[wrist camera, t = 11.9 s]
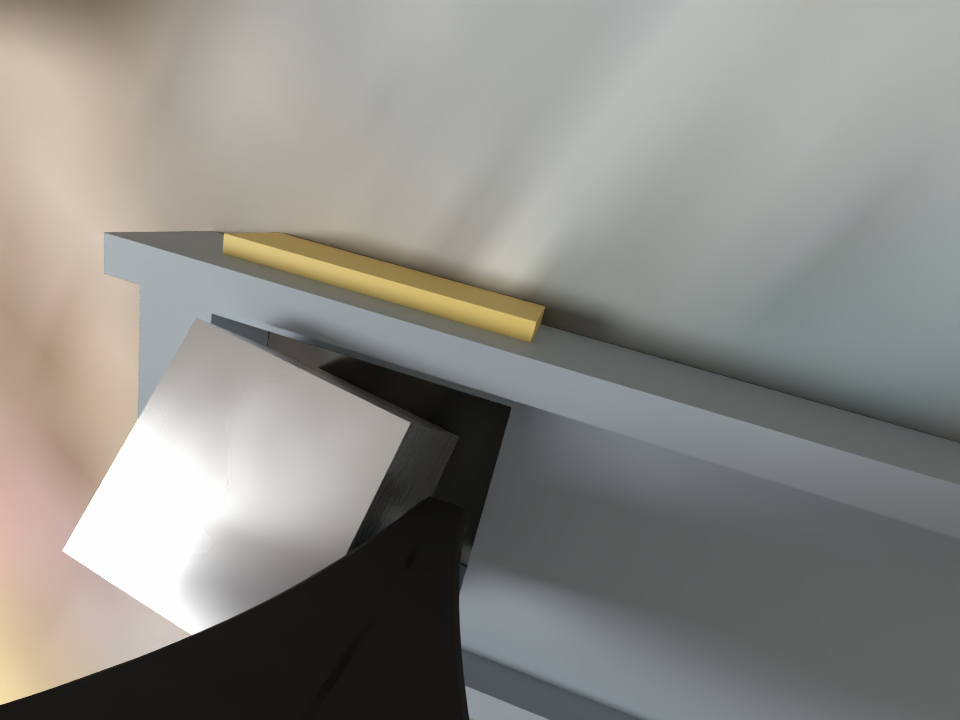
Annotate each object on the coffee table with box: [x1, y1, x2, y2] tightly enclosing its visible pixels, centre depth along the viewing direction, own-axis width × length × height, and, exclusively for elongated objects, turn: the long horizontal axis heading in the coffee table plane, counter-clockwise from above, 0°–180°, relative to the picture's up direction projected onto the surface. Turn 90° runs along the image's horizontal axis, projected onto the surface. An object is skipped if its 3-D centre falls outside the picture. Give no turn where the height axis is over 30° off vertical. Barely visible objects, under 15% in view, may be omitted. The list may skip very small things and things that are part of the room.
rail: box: [104, 231, 960, 720], centre depth 10 cm, size 9×24×3 cm, turn 76°
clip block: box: [63, 318, 460, 635], centre depth 9 cm, size 4×4×4 cm
